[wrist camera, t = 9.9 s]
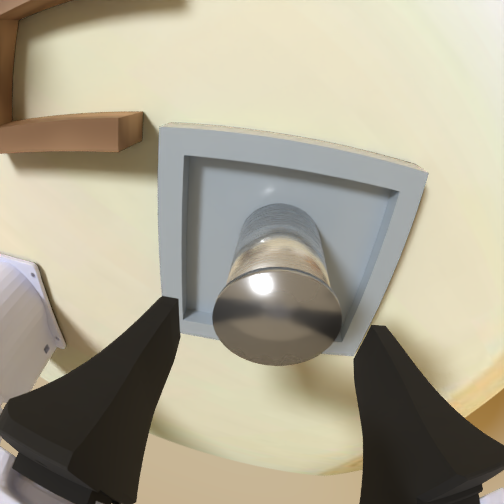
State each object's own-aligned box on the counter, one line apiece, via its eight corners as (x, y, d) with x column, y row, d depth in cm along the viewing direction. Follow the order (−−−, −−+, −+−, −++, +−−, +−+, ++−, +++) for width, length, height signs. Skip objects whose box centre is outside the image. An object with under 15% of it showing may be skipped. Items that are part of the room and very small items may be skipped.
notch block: (141, 140, 13) (118, 152, 11) (1, 144, 14) (-25, 155, 11) (163, -41, 8) (143, -59, 6) (9, 7, 8) (-18, 6, 6)
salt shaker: (313, 281, 16) (323, 370, 11) (232, 270, 16) (211, 357, 11) (331, 206, 14) (358, 281, 9) (239, 193, 14) (213, 263, 9)
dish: (350, 339, 19) (353, 356, 18) (171, 313, 19) (165, 329, 18) (416, 164, 13) (428, 173, 11) (171, 122, 13) (159, 126, 12)
